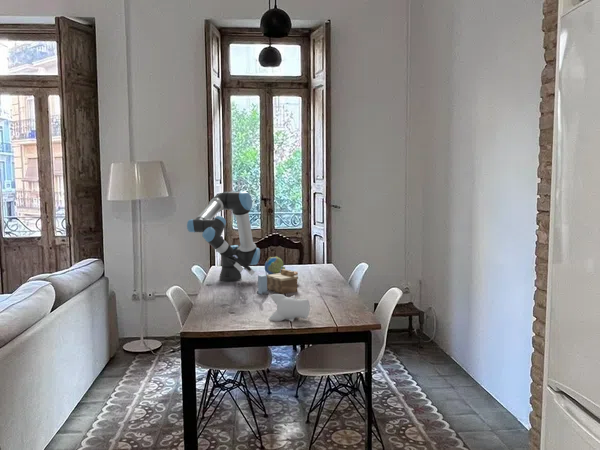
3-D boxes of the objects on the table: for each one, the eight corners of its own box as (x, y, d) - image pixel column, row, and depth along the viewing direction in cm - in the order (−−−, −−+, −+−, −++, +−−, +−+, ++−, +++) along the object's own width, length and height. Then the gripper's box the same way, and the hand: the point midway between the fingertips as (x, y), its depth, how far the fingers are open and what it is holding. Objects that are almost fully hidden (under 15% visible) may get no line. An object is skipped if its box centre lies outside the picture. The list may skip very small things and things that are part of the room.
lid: (266, 276, 335) (266, 270, 335) (283, 274, 342) (283, 268, 342) (280, 281, 321) (280, 274, 321) (298, 278, 328) (298, 271, 328)
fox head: (309, 299, 277) (270, 296, 277) (310, 294, 261) (269, 291, 261) (308, 325, 274) (268, 322, 274) (309, 322, 258) (267, 319, 258)
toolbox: (267, 289, 336) (267, 276, 335) (283, 287, 342) (283, 274, 342) (280, 294, 323) (280, 280, 322) (297, 291, 329) (297, 278, 329)
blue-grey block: (258, 293, 325) (257, 275, 324) (263, 292, 327) (263, 274, 326) (261, 294, 322) (261, 276, 321) (267, 293, 324) (267, 275, 323)
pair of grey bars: (256, 292, 327) (256, 290, 326) (262, 291, 329) (262, 290, 329) (263, 295, 320) (263, 293, 320) (268, 294, 323) (268, 292, 322)
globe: (265, 252, 388) (272, 256, 374) (284, 257, 395) (292, 261, 381) (259, 271, 388) (267, 275, 374) (279, 275, 395) (287, 280, 381)
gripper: (210, 251, 316) (233, 273, 326) (230, 256, 296) (254, 280, 306) (218, 241, 319) (241, 264, 329) (238, 246, 299) (261, 270, 308)
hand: (247, 272), depth 317 cm, fingers open, 13 cm apart
